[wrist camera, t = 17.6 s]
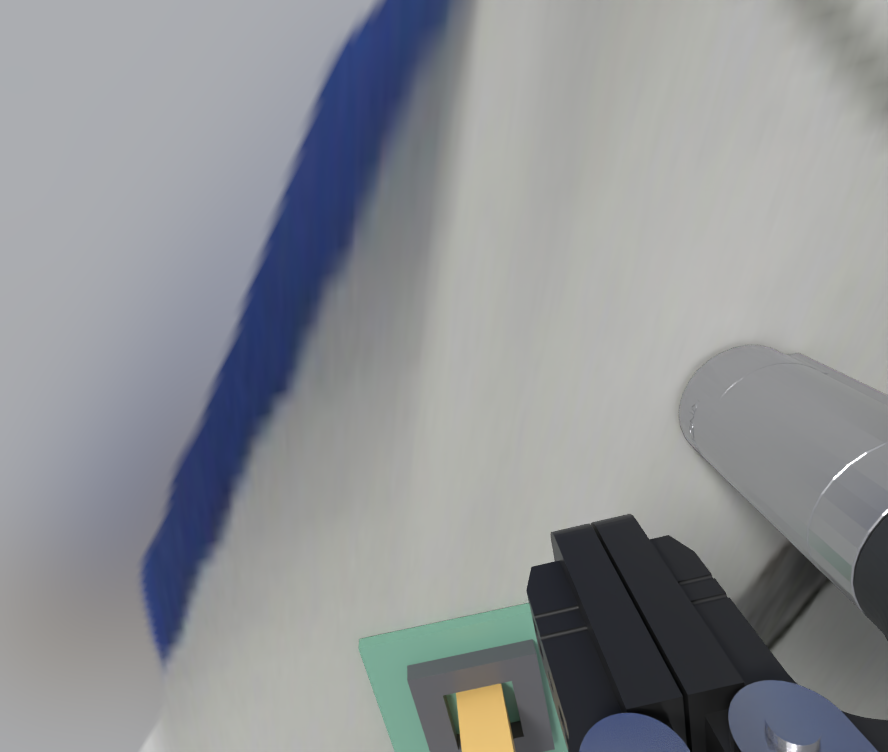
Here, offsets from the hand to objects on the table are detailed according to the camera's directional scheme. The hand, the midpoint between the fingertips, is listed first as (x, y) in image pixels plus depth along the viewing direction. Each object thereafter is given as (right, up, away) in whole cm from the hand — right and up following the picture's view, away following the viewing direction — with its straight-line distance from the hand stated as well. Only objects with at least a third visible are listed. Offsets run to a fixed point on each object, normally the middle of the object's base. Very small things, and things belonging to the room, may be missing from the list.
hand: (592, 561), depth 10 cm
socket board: (+1, -25, +40) cm, 48 cm away
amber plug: (+1, -26, +39) cm, 47 cm away
